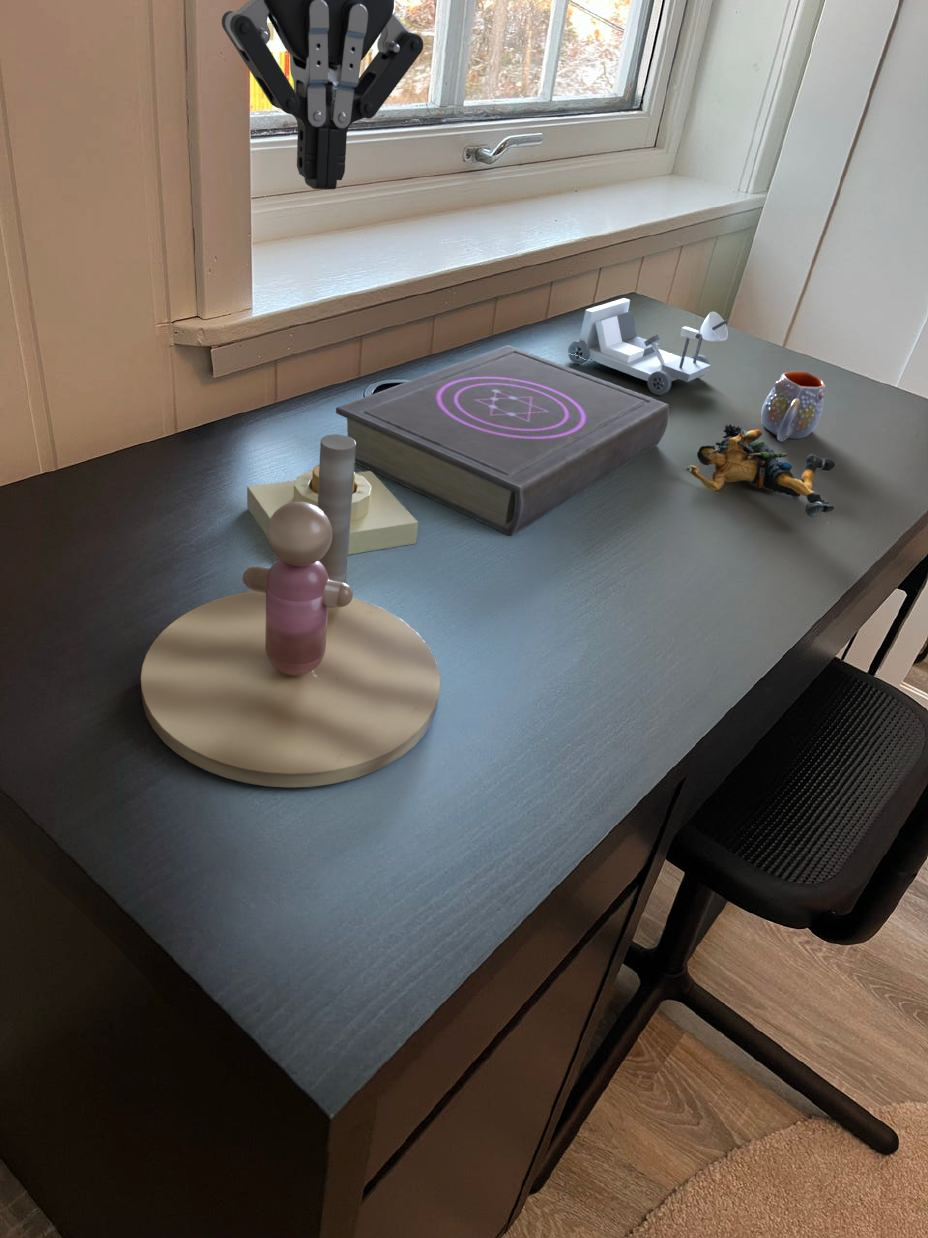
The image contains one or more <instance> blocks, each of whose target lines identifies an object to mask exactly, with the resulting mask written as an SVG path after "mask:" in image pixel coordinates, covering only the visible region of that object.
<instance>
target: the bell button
mask: <svg viewBox="0 0 928 1238" xmlns="http://www.w3.org/2000/svg"><path fill="white" fill-rule="evenodd" d="M312 470H313V475H312V490H313V492H315V493H317V494H318V485H319V464H317V465H315V466H314V467H313V468H312ZM355 473H356V472H355V471H354V479H353V492H354V481H355ZM352 494H353V493H352Z"/></svg>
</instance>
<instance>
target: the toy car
mask: <svg viewBox="0 0 928 1238" xmlns="http://www.w3.org/2000/svg"><path fill="white" fill-rule="evenodd" d="M630 304H631V300H630V299H628V298H625V297H623V298H620V299H617V300H614V301H610V302H607V303H603V304H601V305H597V306H593V307H591V308H587V309H585V310H584V315H583V319H582V326H581V330H580V335H579V339H578V340H575V341H573V342H571V343H570V345H569V346H568V347H567V348H568V349H567V355H568V358H569V360H570V362H572V363H573V364H575V365H582V364H585V363H586V362H588V360H590V359H592V360H591V361H593V360H594V361H593V362H595V361H596V363H598V364H600V365H603V366H606V367H608V368H611V369H614V370H616V371H619V372H622V373H625V374H627V375H630V376H633V377H635V378H637V379H640V380H642V381H646V382H647V387H648V389H649V391H650V392H651V393H652V394H653V395H655V396H663V395H664V394H666V393H668V392H669V391H670V389H671V387H672V382H673V381H676V380H681V381H683V382H687V383H688V382H691V381H693V380H695V379H697V378H701V377H704V376H705V375H707V374H709V373H710V369H711V364H709V360H708V358H707V357H706V356H705V355H703V354H700V353H699V352H700V349H701V346H702V342H703V340H705V341H708V342H723V341H726V340H728V337H729V331H728V327H727V325H726V324H727V323H729V319H728V318H726V319H725V320H724V319H723V318H722V316H721V315H720V314H719V313H717V312H716V311H710V312H709V313H708V315H707V316H706V318H705V319H704V321H703V323H702V324H701V326H700V330H697V329H695V328H692V327H689V326H686V325H685V326H683V327H681V330H680V333H679V336H680V337H682V338H683V337H684V338H686V339H685V343H684V347H683V350H682V355H681V356H679V355H676V354H674V353H671V352H669V351H665V350H662V349H660V348H659V346H660V344H659V343H657V342H658V341H660V339H661V338H660V336H659V334H656V335H654V336H652V337H650V338H648V339H646V338H644V337H640V336H638V335H637V330H636V325H635V319H634V314H633V311H632V310H631V311H629V308H630ZM690 340H692V341H695V340H698V342H697V346H696V349H695V353H694V355H692V356H690V357H689V356H686V354H687V351H688V347H689V343H690ZM568 353H571V354H575V353H576V354H575V355H578V356H575V355H571V354H568ZM579 356H580V357H582V358H584V359H587V360H584V359H582V358H580V357H579ZM588 358H590V359H588Z"/></svg>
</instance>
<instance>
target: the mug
mask: <svg viewBox="0 0 928 1238" xmlns="http://www.w3.org/2000/svg"><path fill="white" fill-rule="evenodd" d="M773 385H774V386H773V388H772V389H771V390H770V391H769V393H768V394H767V397H766V398H765V400H764V402H763V404H762V407H761V412H760V422H761V424H762V426H763V427H764V428H765V429H766V430H767V431H768V432H770V433H771V434H773V435H775V436H776V439H777V440H778V442H785V441H786V440H787V439H795V440H796V439H804V438H806V437H808V436H809V435H811V433H812V432H813V431H814V430H816V427H817V426H818V424H819V421H820V420H821V417H822V413H823V409H824V397H825V388H826V385H825V383H824V381H823V380H822V379H821V378H820V377H818V376H815V375H814V374H812V373H810V372H806V371H802V370H790V371H786V372H784V373H782V374H781V375H780V378H779V380H777V381H776V382H775V383H774V384H773Z"/></svg>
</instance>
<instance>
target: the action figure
mask: <svg viewBox="0 0 928 1238" xmlns="http://www.w3.org/2000/svg"><path fill="white" fill-rule="evenodd" d="M723 432H724V433H725V435H724V436H722V439H723V440H722V441H721V442H720V441H719V440H717V441H716V442H715V445H716V446H718V447H717V449H716V447H715V445H711V444H710V445H708V444H707V445H702V446H700V447H699V448H698V451H697V452H696V457H697V459H698V461H699V462H700V464H702V465H704V466H710V465H714V467H715V470H714V472H713V473H712V475H711V479H712V480H711V479H709V478H707V477H706V476H703V475H702V474H700V473H699V472H700V468H699V465H698V464H697V465H696V466H695V465H694V464H690V465H689V466H686V467H685V470H686V471H687V472H688V473H689V474H691V475H692V476H693V477H694V478H696V479H698V480H699V481H700V482H701V483H702V484H703V485H704V486H705V487H706V488H708V490H711V491H715V492H716V491H719V490H721V489H722V488H723V487H724V485H725V483H726V482H727V483H735V482H740V481H748V482H750V483H751V484H755V485H757V489H762V488H765V489H767V490H769V491H772V492H774V493H775V492H776V493H779V494H785V495H787V496H791V497H794V498H799V497H800V496H803V497H806V500H807V501H808V504H806V506H805V512H806V514H807V516H809V517H817V516H820V515H821V514H822V513H825V514H827V513H832V512H833V510H834V509H835V507H834V505H833V504H832V503H830V501H829V500H826V499H824V498H822V497H821V495H820V494H819V493H817V492H815V491H814V490H812V489H813V481H814V480H813V479H814V474H815V473H816V471H817V469H818V470H821V471H825V472H831V471H832V470H833V469H834V468H835V467H836V463H835V461H834V460H833V459H830V458H828V457H827V458H826V457H825V458H824V457H819V456H818V455H816V454H814V453H810V454H808V455H807V456H806V460H805V462H806V464H805V465H804V470H803V472H802V473H801V476H800V477H794V474H793V473H792V472H791V470H792V469H793V465H792V464H791V463H789V462H788V461H779V459H780V458H785V457H787V456H788V453H787V452H774V449H773V447H772V446H770V445H769V444H768V443H766V442H765V441H761V440H758V439H759V438H760V437H762V435H763V433H762V430H760V429H751V430H749V431H746V430H745V429H742V427H740V426H739V425H738V426H737V427H736V425H732V424H731V423H729V424H726V425H724V430H723ZM778 458H779V459H778Z"/></svg>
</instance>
